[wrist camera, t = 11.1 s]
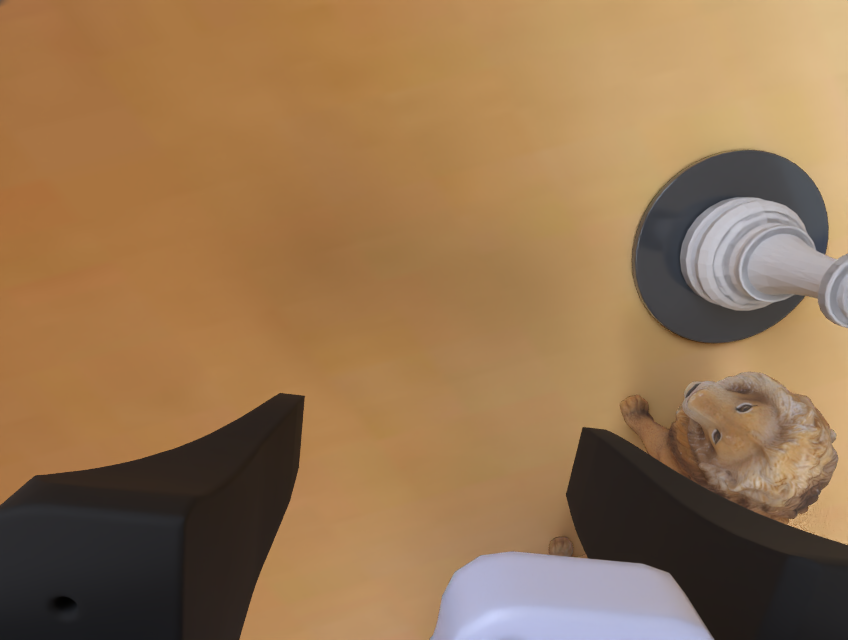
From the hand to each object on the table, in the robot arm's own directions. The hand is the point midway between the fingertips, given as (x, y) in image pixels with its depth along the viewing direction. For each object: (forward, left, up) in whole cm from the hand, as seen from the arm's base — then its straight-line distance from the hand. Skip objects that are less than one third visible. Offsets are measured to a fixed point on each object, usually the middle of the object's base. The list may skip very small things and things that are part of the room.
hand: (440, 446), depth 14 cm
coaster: (+5, -12, -10) cm, 16 cm away
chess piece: (+5, -12, -10) cm, 16 cm away
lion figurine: (-5, -10, -10) cm, 15 cm away
